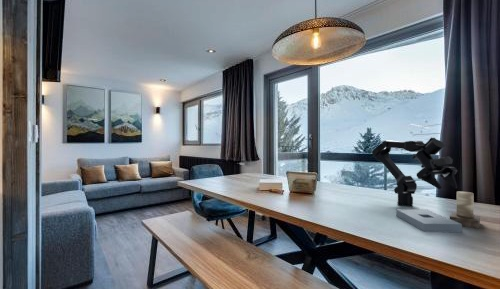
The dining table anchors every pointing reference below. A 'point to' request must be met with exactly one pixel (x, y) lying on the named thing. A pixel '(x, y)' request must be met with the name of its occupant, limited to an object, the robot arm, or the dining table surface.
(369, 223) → the dining table surface
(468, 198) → the leg
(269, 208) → the dining table surface
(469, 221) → the frame
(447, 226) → the board
